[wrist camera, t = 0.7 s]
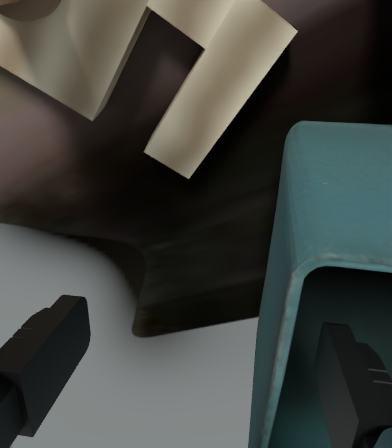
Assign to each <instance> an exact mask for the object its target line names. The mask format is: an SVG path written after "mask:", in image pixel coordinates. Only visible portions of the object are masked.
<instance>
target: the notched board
mask: <svg viewBox="0 0 392 448" xmlns="http://www.w3.org/2000/svg"><path fill="white" fill-rule="evenodd" d="M151 9H152V10H153V11H154V12H156V13H157V14H158V15H160V16H161V17H163V18H164V19H165V20H167V21H168V22H169V23H171V24H172V25H173V26H175V27H176V28H177V29H179V30H180V31H182V32H183V33H184V34H186V35H187V36H188V37H190V38H191V39H192V40H194V41H195V42H196V43H198V44H199V45H201V46H202V47H203V48H204V49H203V50H202V52H201V54H200V55H199V57H198V59H197V60H196V62H195V64H194V65H193V67H192V69H191V70H190V72H189V74H188V75H187V77H186V79H185V80H184V82H183V84H182V85H181V87H180V89H179V90H178V92H177V94H176V95H175V97H174V99H173V100H172V102H171V104H170V105H169V107H168V109H167V110H166V112H165V114H164V115H163V117H162V119H161V121H160V122H159V124H158V126H157V127H156V129H155V131H154V132H153V134H152V136H151V138H150V140H149V142H148V144H147V146H146V149H145V151H144V152H145V153H146V154H148V155H150V156H151V157H153V158H155V159H156V160H158V161H160V162H161V163H163V164H165V165H166V166H168V167H170V168H171V169H173V170H175V171H176V172H178V173H180V174H181V175H183V176H185V177H186V178H188V179H189V178H190V177H191V175H192V174H193V173H194V171H195V170H196V169H197V167H198V166H199V164H200V163H201V162H202V160H203V159H204V158H205V156H206V155H207V154H208V152H209V151H210V150H211V148H212V147H213V145H214V144H215V143H216V141H217V140H218V139H219V137H220V136H221V135H222V133H223V132H224V131H225V129H226V128H227V126H228V125H229V124H230V122H231V121H232V120H233V118H234V117H235V116H236V114H237V113H238V112H239V110H240V109H241V107H242V106H243V105H244V103H245V102H246V101H247V99H248V98H249V97H250V95H251V94H252V93H253V91H254V90H255V88H256V87H257V86H258V84H259V83H260V82H261V80H262V79H263V78H264V76H265V75H266V74H267V72H268V71H269V69H270V68H271V67H272V65H273V64H274V63H275V61H276V60H277V59H278V57H279V56H280V55H281V53H282V52H283V50H284V49H285V48H286V46H287V45H288V44H289V42H290V41H291V40H292V38H293V37H294V36H295V34H296V33H297V30H296V29H294V28H293V27H292V26H291V25H290V24H289V23H288V22H287V21H285V20H284V19H283V18H282V17H281V16H279V15H278V14H277V13H276V12H275V11H273V10H272V9H271V8H270V7H268V6H267V5H266V4H265V3H264V2H262V1H261V0H61V2H60V3H59V5H58V7H57V8H56V9H55V10H54V11H53V12H52V13H51V14H50V15H48V16H46V17H44V18H41V19H37V20H34V21H24V22H23V21H16V20H13V19H10V18H7V17H5V16H3V15H2V14H0V66H1V67H3V68H5V69H6V70H8V71H10V72H11V73H13V74H15V75H16V76H18V77H20V78H21V79H23V80H25V81H26V82H28V83H30V84H31V85H33V86H35V87H36V88H38V89H40V90H41V91H43V92H45V93H46V94H48V95H50V96H51V97H53V98H55V99H56V100H58V101H60V102H61V103H63V104H65V105H66V106H68V107H70V108H71V109H73V110H75V111H76V112H78V113H80V114H81V115H83V116H85V117H86V118H88V119H90V120H91V121H93V120H94V119H95V118H96V117H97V116H98V115H99V113H100V112H101V111H102V110H103V109H104V108H105V106H106V104H107V102H108V100H109V98H110V95H111V93H112V91H113V89H114V87H115V85H116V83H117V81H118V79H119V77H120V74H121V72H122V70H123V68H124V66H125V64H126V62H127V60H128V58H129V56H130V53H131V51H132V49H133V47H134V45H135V43H136V41H137V39H138V37H139V35H140V32H141V30H142V28H143V26H144V24H145V22H146V20H147V18H148V16H149V14H150V12H151Z"/></svg>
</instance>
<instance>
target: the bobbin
mask: <svg viewBox="0 0 392 448" xmlns="http://www.w3.org/2000/svg"><path fill="white" fill-rule="evenodd" d="M60 2H61V0H0V14H2V15H3V16H5V17H7V18H10V19H13V20H16V21H23V22H24V21H34V20H37V19H41V18H44V17H46V16H48V15H50V14H51V13H52V12H53V11H54V10H55V9H56V8H57V7H58V5H59V3H60Z"/></svg>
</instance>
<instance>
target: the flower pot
mask: <svg viewBox="0 0 392 448" xmlns="http://www.w3.org/2000/svg"><path fill="white" fill-rule="evenodd" d="M323 322H327V323H337V324H347V325H349V326H350V328H351V330H352V332H353V335H354V337H355V339H356V342H361V343H367V344H368V345H369V346H370V347H371V348H372V349H373V350H374V351H375V352H376V353H377V354H378V355H379V356H380V358H381V360H382V362H383V364H384V366H385V368H386V370H387V373H388V374H389V376H390V378H391V380H392V125H383V124H360V123H337V122H315V121H301V122H298V123H297V124H295V125H294V126H293V127H292V128H291V129H290V131H289V132H288V134H287V137H286V141H285V145H284V152H283V159H282V167H281V175H280V183H279V191H278V199H277V206H276V213H275V219H274V226H273V232H272V239H271V245H270V252H269V258H268V265H267V271H266V277H265V283H264V288H263V294H262V300H261V306H260V313H259V321H258V328H257V338H256V350H255V363H254V377H253V391H252V405H251V419H250V431H249V444H248V448H331V444H330V440H329V435H328V431H327V427H326V423H325V418H324V414H323V410H322V406H321V401H320V397H319V393H318V388H317V384H316V380H315V357H316V352H317V347H318V342H319V336H320V331H321V326H322V324H323Z"/></svg>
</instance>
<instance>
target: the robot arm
mask: <svg viewBox="0 0 392 448" xmlns="http://www.w3.org/2000/svg"><path fill="white" fill-rule="evenodd" d="M90 335H91V334H90V325H89V315H88V306H87V300H86V298H85V297H80V296H71V295H62V296H61V297H59V299H58V300H57V301H56V302H55V303H54V304H53V305H52V306H51V307H50V308H44V309H43V310H41V311H39V312H37V313H36V314H34V315H32V316H31V317H30V318H29V319H28V320H27V321H26V322H25V323H24V324H23V325H22V326H21V329H18V330H17V332H16V333H15V334H14V335H13V337H12V338H10V339H9V340H8V341H7V342H6V343H5V344H4V345H3V346H2V347H1V348H0V448H12V447H11V444H12V443H13V441H14V440H15V438H16V437H17V435H22V436H28V437H33V436H34V434H35V433H36V431H37V430H38V428H39V427H40V425H41V423H42V422H43V420H44V419H45V417H46V415H47V414H48V412H49V410H50V409H51V407H52V406H53V404H54V402H55V401H56V399H57V398H58V396H59V394H60V393H61V391H62V389H63V388H64V386H65V384H66V383H67V381H68V380H69V378H70V377H71V375H72V373H73V372H74V370H75V369H76V366H77V365H78V364H79V362H80V360H81V359H82V357H83V356H84V354H85V352H86V351H87V348H88V346H89V342H90ZM315 380H316V384H317V388H318V393H319V397H320V401H321V406H322V410H323V414H324V418H325V423H326V427H327V431H328V435H329V440H330V444H331V448H392V380H391V378H390V376H389V374H388V373H387V370H386V368H385V366H384V364H383V362H382V360H381V358H380V356H379V355H378V354H377V353H376V352H375V351H374V350H373V349H372V348H371V347H370V346H369V345H368V344H367V343H361V342H356V339H355V337H354V335H353V332H352V330H351V328H350V326H349V325H347V324H337V323H327V322H323V324H322V326H321V331H320V336H319V342H318V347H317V352H316V357H315Z"/></svg>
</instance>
